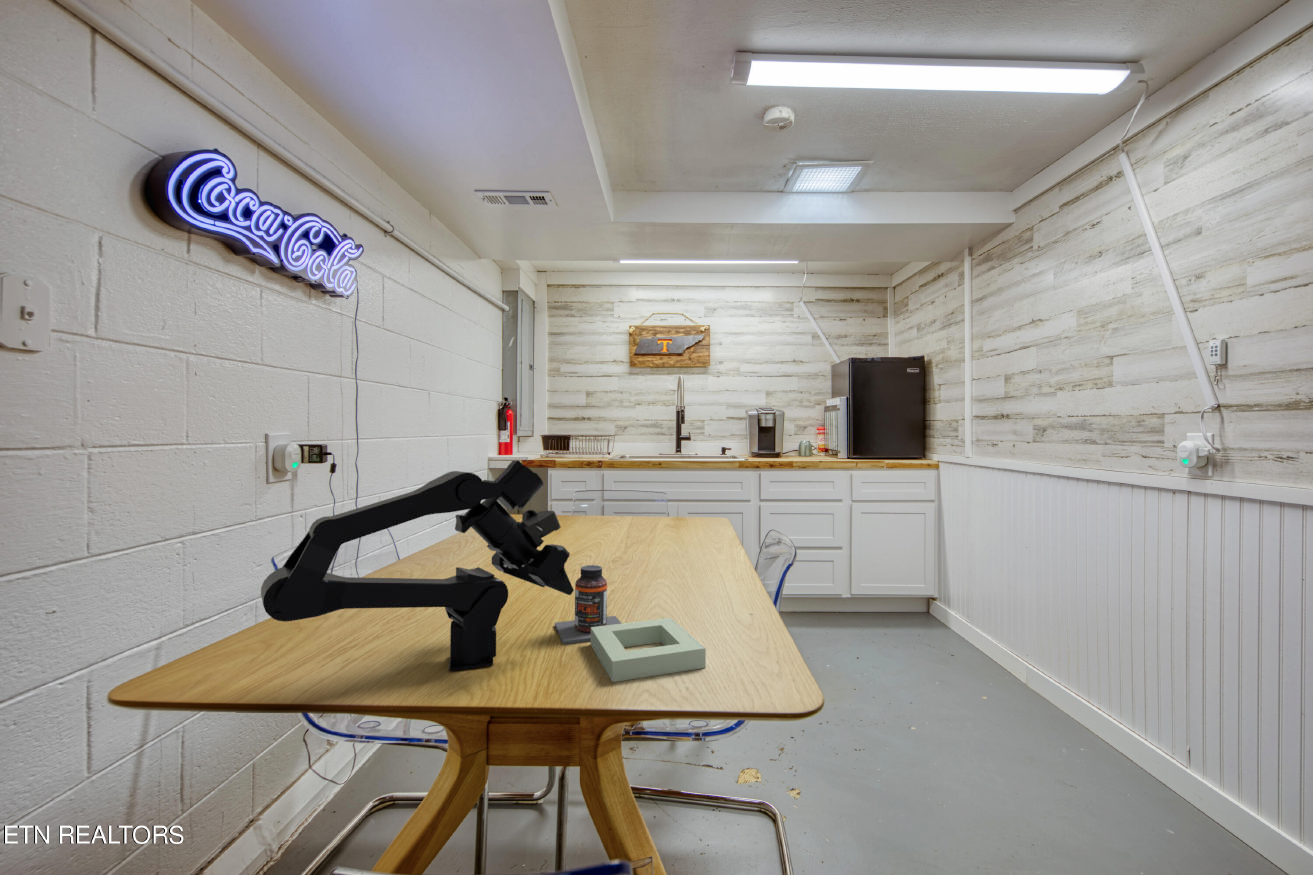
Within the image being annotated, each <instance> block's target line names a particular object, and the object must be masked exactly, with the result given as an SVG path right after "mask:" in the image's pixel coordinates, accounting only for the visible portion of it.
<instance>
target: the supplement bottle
mask: <svg viewBox="0 0 1313 875" xmlns="http://www.w3.org/2000/svg"><path fill="white" fill-rule="evenodd" d="M574 584H575V585H574V586H575V589H574V620H575V628H576V629H577V630H578V631H581V632H586V633H591V627H597V626H606V622H607V621H606V620H607V617H608V616H607V612H608V611H607V608H608V607H607V606H608V605H607V604H608V601H607V600H608V598H607V597H608V594H607V593H608V583H607V579H606V578H605V577H603V567H602V566H601V565H596V564H592V565H591V564H587V565H584V566H581V567H580V577H578V578H577V580H576V581H575V583H574Z"/></svg>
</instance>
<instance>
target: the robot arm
mask: <svg viewBox="0 0 1313 875" xmlns="http://www.w3.org/2000/svg"><path fill="white" fill-rule="evenodd" d="M544 485H545V484H544V481H543V479H542V478H541V477H540V476H539V475H538V473H536V472H534V471H533V470H532V469H530V468H529V467H527V466H525V465H524V464H523V463H522V462H521V461H520V460H512V461H511V462H510V463H509V464H508V465H507V467H506V468H505V469H504V470H503V471H502V473H501V474H499V475H498V476H497V477H496V478H495V479H494V480H490V479H489V480H488V479H483V480H482V478H481V477H480V476H479V475H477V474H475V473H473V472H466V471H458V470H453V471H449V472H446V473H444V474H442V475H440V476H438V477H436V478H434V479H432V480H430V481H428V482H427V483H425V484H424V485H422V486H421V487H419V488H417V489H415V490H412V491H409V492H407V493H403V494H400V495H397V496H396V495H395V496H394V497H391V498H387V499H384V500H379V501H377V502H373V503H370V504H366V505H364V506H360V507H356V508H354V509H351V510H347V511H344V512H340V513H338V514H334V515H331V516H321V517H320V518H317V519H316V520H315V521H314V522H312V524H311V525H310V526H309V530H308V531H307V533H306V534H305V536H304V537H303V538H302V539H301V541H300V542H299V543H298V545H297V546H296V547H295V548H294V549H293V551H292V552H291V553H290V555H288V557H287V559H286V561H285V562H284V564H283V565H282V566H281V567H279V568H277V569H275V570H274V571H273V572H271V573H269V575H267V577H266V578H265V579H264V580H263V582H262V585H261V587H260V598H261V601H262V606H263V608H264V612H266V613H267V615H268V616H269V617H271V618H272V619H273V620H275V621H277V622H284V623H285V622H293V621H295V622H296V621H301V620H305V619H312V618H317V617H321V616H323V615H328V614H330V613H333V612H338V611H339V610H345V609H346V610H348V609H349V610H350V609H351V610H352V609H400V608H401V609H402V608H405V609H407V608H408V609H409V608H444V610H445V613H446V615H447V618H448V619H450V620H451V623H450V627H449V628H450V634H449V635H450V637H449V640H450V644H449V651H450V652H449V655H450V656H449V664H448V671H451V672H454V671H460V670H462V671H463V670H468V669H476V668H483V667H490V666H494V658H496V656H497V627H496V626H497V624H498V621H499V619H500V615H501V612H502V609H503V608H504V607H505V606H506V604H507V602H508V599H509V588H508V586H507V584H506V583H505V582H504V581H503V580H501V579H500V578H497V577H495V574H494V573H491V572H489V571H487V570H485V569H483V568H481V567H478V566H477V567H474V568H464V567H460V566H457V567H456V568H455V575H454V576H453V575H452V576H450V577H447V578H413V577H412V578H409V577H408V578H405V577H404V578H403V577H402V578H401V577H397V578H395V577H394V578H393V577H348V576H347V577H346V576H341V575H338V574H335V573H329V572H328V571H329V569H330V567H331V565H332V562H333V560H334V558H335V557H336V554H337V552H339V551H338V550H339V549H340V547H341V546H342V545H343V544H345V543H348V542H351V541H355V540H357V539H360V538H363V537H367V536H369V535H372V534H374V533H377V532H381V531H383V530H386V529H389V528H392V527H393V528H394V527H396V526H398V525H399V526H400V525H401V524H404V523H408V522H410V521H413V520H416V519H419V518H422V517H425V516H430V515H436V514H437V515H439V514H447V513H455V512H460V511H466V510H467V511H466V512H465V513H464V514H456V515H455V526H454V530H455V531H456V532H459V533H462V534H465V533H467V532H468V531H469V530H470V528H472V529H473V530H474V531H475V533H477V534H478V535H479V537H481V538H482V539H483V540H484V541H485V543H487V545H486V548H488V549H489V551H492V552H495V553H494V554H493V555H492V556H491V565H492V566H493V567H494V568H495V569H496V570H498V571H499V572H502V573H503V574H505V575H508V576H511V577H513V578H516V579H520V580H522V581H524V582H528V583H530V584H533V585H536V586H538V587H541V588H545V587H548V588H550V589H551V590H552V589H553V590H555V591H557V592H560V593H562V594H565V595H567V596H571V595H572V594H573V592H575V589H574V587H573V586H572V583H571V581H570V578H569V577H568V574H567V571H566V568H565V564H566V563H567V561H568V559H569V558H570V554H571V553H570V551H568V550H567V549H566V548H565V547H564V545H559V544H553V543H551V544H545V545H544V546H543V547H542V549H541V550H540V549H538V548H539V547H541V546H542V544H543V543H544V542H545V541H544V540H543V538H545V537H546V536H548V535H550V534H552V533H553V532H555V531H556V532H558V531H559V530H560V529H561V527H562V526H561V524H560V521H559V519H558V517H557V514H556V512H555V510H542V511H538V512H537V511H536V510H534V509H527V510H525V511H523V512H522V513H521V514H522V515H521V516H522V518H521V521H517V520H516V519H515V518H514V517H513V516H512V515H511V514H510V513H509V512H508V510H510V511H514V509H517V510H518V511H521V510H522V509H523V508H524V507H525V506H526V505H527V504H528V503H529V502H530V501H531V500H532V499H533V498H534V497H535V495H537V493H539V492H540V491H541V489H543V487H544ZM502 505H503V506H502ZM504 507H505V508H504Z"/></svg>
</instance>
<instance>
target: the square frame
mask: <svg viewBox="0 0 1313 875" xmlns="http://www.w3.org/2000/svg"><path fill="white" fill-rule="evenodd" d="M659 643H661V644H662V645H661V646H654V647H647V648H640V649H632V650H626V649H625V648H629V647H635V646H643V645H649V644H650V645H651V644H659ZM590 646H591V648H592V650H593V651H594V653H595V655H596V657H597V658H598V660H599V662H600V664H601V666H602V667H603V669H604V670H605V671H606V674H607V675H608V677H609V679H610V680H611V682H612V683H616V682H623V681H628V680H635V679H641V678H649V677H654V676H661V675H667V674H673V673H680V672H686V671H687V672H688V671H691V670H700V669H704V668H706V667H707V665H706V660H707V657H706V655H707V654H706V652H707V650H706V649H707V648H706V647H705V646H704V645H703V644H701V643H700V642H699V641H698V640H697V639H696V638H695V637H694V636H692V635H691V634H690V633H689V632H688V631H687V630H685V629H684V628H683V627H682V626H681V625H680V624H679V623H677V621H675V620H674V619H673V618H672V617H667V618H666V617H665V618H659V619H649V620H642V621H640V620H639V621H633V622H625V623H622V624H614V625H606V626H597V627H591V641H590Z"/></svg>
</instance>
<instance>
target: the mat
mask: <svg viewBox="0 0 1313 875" xmlns="http://www.w3.org/2000/svg"><path fill="white" fill-rule="evenodd" d="M606 621H607V622H606V625H614V624H623V623H622V622H621V621H620V620H619V619H618V617H617V616H616V615H610V616H607V620H606ZM554 627H555V629H556V632H557V634H558V637H559V639H560V641H561V642H562V645H564V646H565V645H569V644H570V645H571V644H572V645H573V644H578V643H588V642H591V633H586V632H581V631H578V630H577V629H576V628H575V619H574V620H565V621H558V622H557V621H556V622H554Z"/></svg>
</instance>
